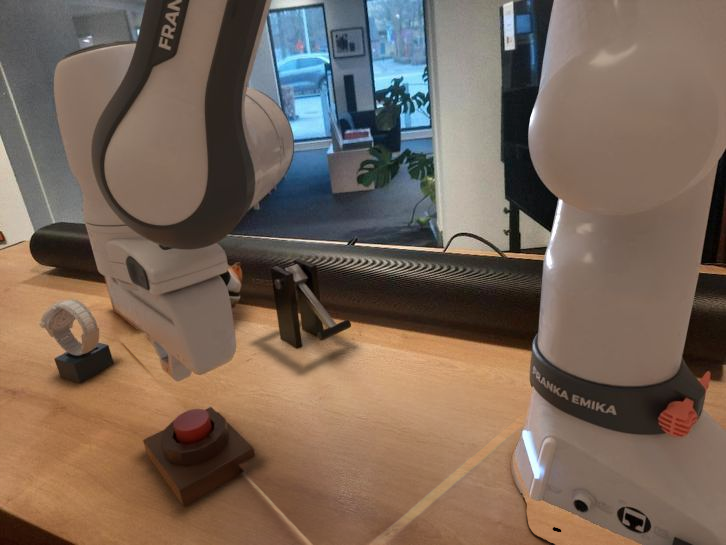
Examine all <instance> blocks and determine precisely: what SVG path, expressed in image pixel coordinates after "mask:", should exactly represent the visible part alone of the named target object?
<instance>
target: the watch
mask: <svg viewBox="0 0 726 545" xmlns="http://www.w3.org/2000/svg"><path fill="white" fill-rule="evenodd" d="M75 320H76V321H77V322H78V324H79V325H80V328H81V330H82V334H81V342H80V341H79V340H78V339H77V338H76V337H75V335H74V333H72V331H71V329H72V328H73V327H74V321H75ZM39 326H40V328H42V329H45V330H46V332H47V334H48V335H49V336H50V337H52V338H54V340H55V342H56V343H57V345H59V346H60V347H61V348H62V349H63V350H64V351H65V352H64V353H62V354H61V355H59V356H56V357H54V358H53V359H54V362H55V365H56V368H57V371H58V373H59V376H60V378H61V379H65V380H68V381H71V382H75V383H77V384H81V383H83V382H85V381H87V380H88V379H90V378H92V377H93V376H95V375H97V374H98V373H100V372H102V371H103V370H105V369H107V368H108V367H110V366H112V365H113V364H114V363H115V362H114V359H113V356H112V352H111V349H110V345H109V344H107V343H102V342H99V341H100V328H99V326H98V324H97V321H96V319H95V316H94V315H93V313H92V311H91V310H90V309H89V308H88V307H87V305H85V304H84V303H83V302H82V301H81V300H78V299H74V298H70V299H63V300H59V301H57V302H55V303H53V304H52V305H51V306H49V307H48V308H47V309H46V311H45V312H44V313H43V314H42V317H41V319H40V322H39Z"/></svg>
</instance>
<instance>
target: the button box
mask: <svg viewBox="0 0 726 545" xmlns="http://www.w3.org/2000/svg"><path fill="white" fill-rule="evenodd" d="M204 410H206V411H207V412H208V413H209V417H210V421H211V426H212V431H211V433H210V435H209V436H208V437H206V438H204V439H202V440H200V441H199V442H196V443H190V444H182V443H180V442H179V441H178V440H177V438H176V434H175V430H174V426H173V423H174V420H172V421H171V422H170V423H169V424H168V425H167V426H166V427H165V428H164V429H163V430H161V431H158V432H157V433H155V434H152V435H150V436H148V437H146V438H144V439H143V440H142V441H143V445H144V448H145V451H146V455H147V457H148V459H149V460H150V461H151V463H152V464H153V466H154V467H155V468H156V470H157V471H158V473H159V474H160V475H161V477H162V478H163V480H164V481H165V482H166V484H167V485H168V487H169V488H170V490H171V491H172V492H173V494H174V495H175V497H176V498H177V500H178V501H179V502H180V504H181V505H182V506H183V507H184V508H185V507H187V506H188V505H191V504H192V503H193V502H195V501H197V500H198V499H201V498H202V497H204V496H205V495H207V494H208V493H210V492H212V491H213V490H215V489H216V488H218V487H220V486H222V485H224V484H226V483H227V482H229V481H230V480H232V479H234V478H235V477H237V476H238V475H241V474H242V473H244V469H242V467H240V464H242V463H244V462H245V461H247V460H249V459H250V458H252V457H254V456H255V455H256V454H255V448H254V447H253V445H252V444H250V443H249V442H248V441H247V440H246V439H245V438H244V437H243V436H242V435H241V434H240V433H239V432H238V431H237V430H236V429H235V428H234V427H232V425H231V424H229V422H228V421H227V419H226V418H225V417H224V416H223V415H222V414H221V413H220V412H218V411H216V410H215V409H214V408H213V407H212V406H209V407H208V408H205V409H204Z"/></svg>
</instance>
